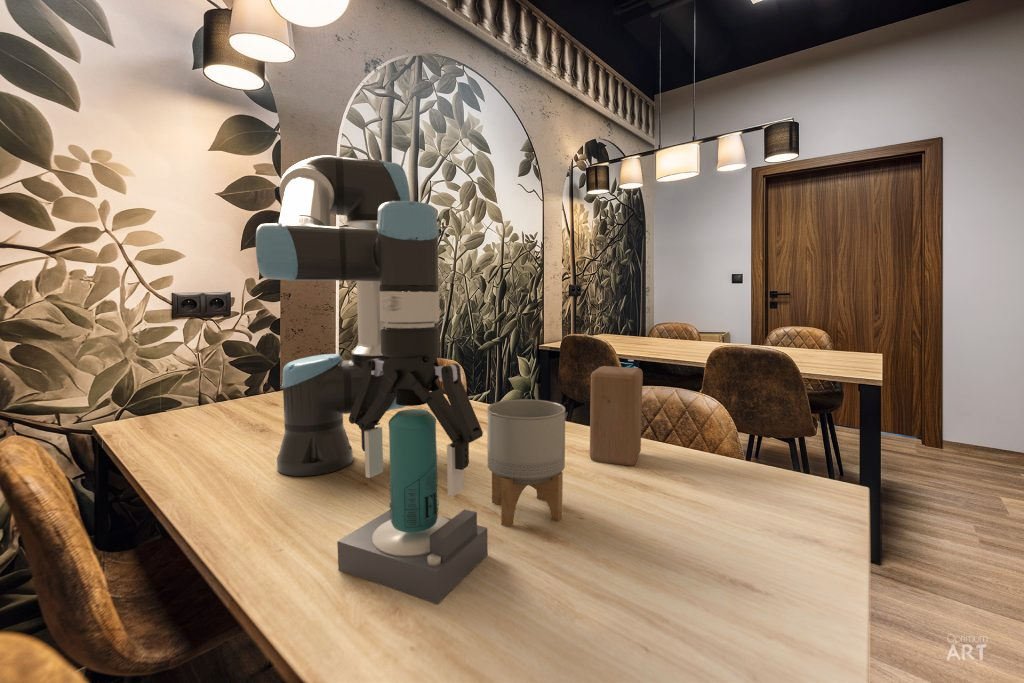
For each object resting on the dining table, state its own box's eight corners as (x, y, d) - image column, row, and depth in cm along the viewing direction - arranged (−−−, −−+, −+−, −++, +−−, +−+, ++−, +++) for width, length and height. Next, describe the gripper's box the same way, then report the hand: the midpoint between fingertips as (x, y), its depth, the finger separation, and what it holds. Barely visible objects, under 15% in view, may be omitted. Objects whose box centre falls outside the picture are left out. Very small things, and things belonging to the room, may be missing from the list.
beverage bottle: (428, 546, 61) (426, 392, 59) (380, 541, 62) (377, 390, 60) (445, 523, 67) (444, 383, 65) (401, 518, 68) (399, 381, 66)
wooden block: (588, 461, 104) (590, 371, 102) (598, 448, 113) (599, 365, 111) (635, 467, 100) (637, 374, 98) (641, 453, 110) (643, 367, 108)
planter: (541, 537, 72) (542, 422, 70) (472, 516, 78) (471, 410, 77) (576, 505, 83) (578, 404, 81) (513, 489, 89) (513, 396, 88)
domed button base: (338, 569, 63) (336, 519, 62) (397, 529, 74) (396, 486, 73) (437, 604, 56) (436, 548, 55) (487, 554, 67) (487, 507, 66)
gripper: (318, 324, 64) (324, 476, 66) (478, 330, 53) (479, 513, 55) (359, 321, 71) (363, 459, 73) (508, 326, 59) (508, 489, 62)
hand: (413, 483), depth 64 cm, fingers open, 13 cm apart
